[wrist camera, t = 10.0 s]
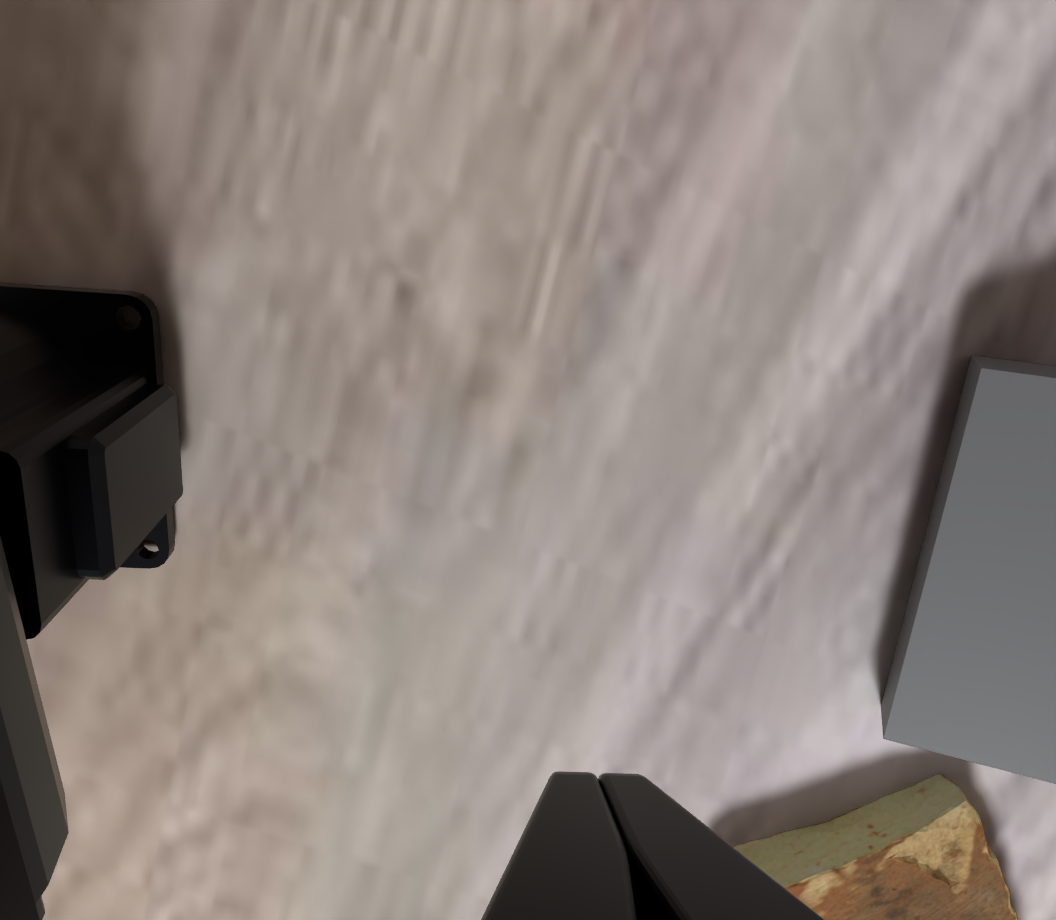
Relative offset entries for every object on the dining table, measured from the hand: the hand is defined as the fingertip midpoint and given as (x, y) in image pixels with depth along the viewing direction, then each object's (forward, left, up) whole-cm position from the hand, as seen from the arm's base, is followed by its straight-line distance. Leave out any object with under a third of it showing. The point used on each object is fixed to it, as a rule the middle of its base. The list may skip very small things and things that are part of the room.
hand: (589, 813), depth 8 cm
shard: (+14, -15, -14) cm, 25 cm away
